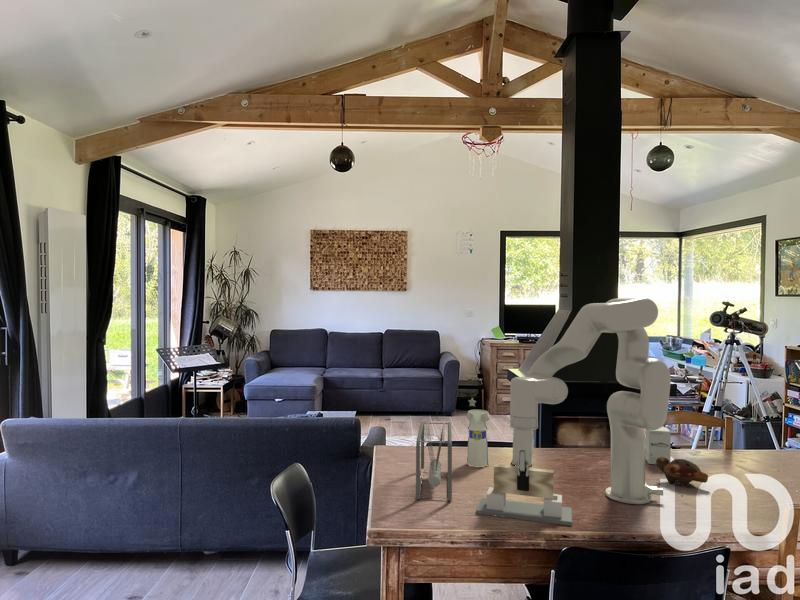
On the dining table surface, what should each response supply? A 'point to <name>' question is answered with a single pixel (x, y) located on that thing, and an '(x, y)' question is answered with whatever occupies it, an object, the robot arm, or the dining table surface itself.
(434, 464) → the newton's cradle
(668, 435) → the supplement box
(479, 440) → the water bottle
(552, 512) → the frame
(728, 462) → the dining table surface
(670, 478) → the decorative turtle
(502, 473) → the slat
